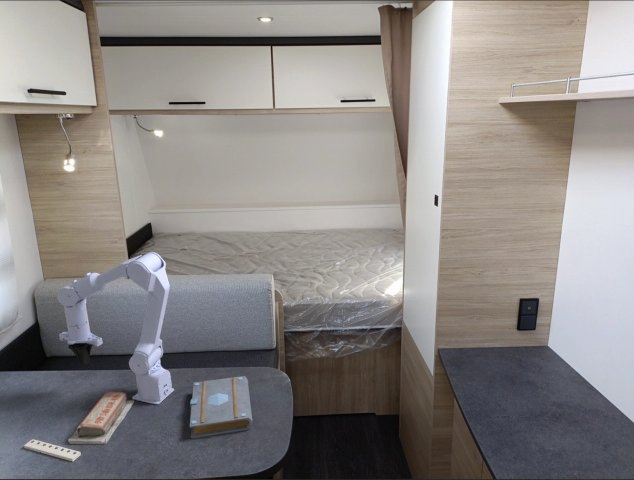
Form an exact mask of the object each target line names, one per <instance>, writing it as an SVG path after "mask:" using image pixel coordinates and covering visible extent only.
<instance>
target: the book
mask: <svg viewBox="0 0 634 480" xmlns="http://www.w3.org/2000/svg"><path fill="white" fill-rule="evenodd" d="M250 397H251V396H250V388H249V380H248V378H247V377H246V376H245V375H242V376H234V377H233V376H232V377H226V378H220V379H217V378H216V379H210V380H204V381H195V382H193V389H192V398H191V399H189V401H190V402H189V406H190V419H189V421H190V422H189V428H190V429H191V433H190V439H197V438H202V437H203V438H204V437H205V438H206V437H210V436H216V435H217V436H218V435H223V434H224V435H225V434H230V433H235V432H243V431H248V430H249V431H250V430H251V428H252V426H253V424H254V423H253V415H252V407H251V406H252V405H251V398H250Z"/></svg>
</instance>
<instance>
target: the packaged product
mask: <svg viewBox="0 0 634 480" xmlns="http://www.w3.org/2000/svg"><path fill="white" fill-rule="evenodd" d="M127 399H128V398H127V393H125V392H124V391H106V392H105V393H104V394H103V395H102V396H101V397H100V399H99V400H98V401H97V403H96V404H95V405H94V406H93V408H91V410H90V411H89V413H88V414H87V415H86V416H85V418H83V420H82V421H81V422H80V423H79V424H78V426H77V428H76V430H75V431H74V432H73V434H72V435H71V436H70V438H68V443H69V444H70V445H106V444H107V443H108V442H109V440H110V439H111V437H112V436H113V434H114V432H115V431H116V430H117V428H118V427H119V426H120V424H121V423H122V421H123V420H124V419H125V417H126V415H127V414H128V413H129V411H130V410H131V408H132V407H133V405H134V404H135V400H134V399H132V400H127Z"/></svg>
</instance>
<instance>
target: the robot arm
mask: <svg viewBox="0 0 634 480" xmlns="http://www.w3.org/2000/svg"><path fill="white" fill-rule="evenodd" d="M166 267H167V264H166V261H165V260H164V259H163V257H162V256H161V255H160V254H158V253H157V252H154V251H150V252H146V253H145V254H144V255H143V254H141V255H138V256H135V257H132V258H130V259H127V260H124V261H123V262H121V263H118V265H115V266H113V267H112V268H110V269H108V270H106V271H104V272H103V273H99V272H92V273H91V272H88V273H85V274H84V275H83V277H82V278H79V279H75V280H72V281H71V283H70V284H68V285H66V286H64V287H61V289H59V290H58V292H57V293H56V297H57V301H58V302H59V304H61V306H63V310H64V317H65V320H66V327H67V331H63V332H61V333H59V334H58V336H59V340H60V341H67V345H68V349H69V350H71V352H72V353H73V354H74V355H75V357H76V359H77V360H78V362H79V365H80V366H86V365H88V363H90V356H91V351H92V349H93V346H95V347H100V346H101V345H102V344H103V343H104V342H103V338H102V337H99V336H97V335H96V334H94V333H92V332H91V329H90V328H91V327H90V322H89V316H88V310H87V298H90V297H92V296H94V295H96V294H98V293H100V292H103V291H104V290H105V288H106V286H107V284H109V283H111V282H113V281H115V280H118V279H119V278H122V277H124V278H125V279H126V280H129V279H130V280H131V281H132V282H134V284H136V285H137V286H139V287H140V288H142V289H143V290H145V291H146V292H148V296H147V301H146V302H147V303H146V308H145V311H144V317H143V323H142V326H141V327H142V328H141V334H140V338H139V342H138V343H137V346H135V349H134V352H133V354H132V356H131V357H130V358H129V361H128V366H129V368H130V370H131V371H132V372H133V373H134V375H135V378H136V387H137V393H136V394H135V395H133V396H132V398H131V399H132V400H134V401H135V400H136V401H138V402H139V401H140V402H144V403H147V404H152V405H153V404H154V405H159V404H161V403H162V401H164V400H165V399H167V398H168V396H170V395H171V394H172V393H173V392H174V391H175V388H173V385H172V376H171V372H170V371H169V370H167V369H165V368H164V367H163V366H162V365H161V358H162V357H163V356H164V355H163V354H164V348H163V340H162V339H161V333H162V327H163V323H164V318H165V315H166V314H165V313H166V308H167V303H168V299H169V294H170V289H171V288H170V287H171V285H170V282H169V279H168V276H167V271H166Z"/></svg>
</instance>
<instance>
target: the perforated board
mask: <svg viewBox="0 0 634 480" xmlns="http://www.w3.org/2000/svg"><path fill="white" fill-rule="evenodd" d="M23 447H24V449H26V450H29V451H33V452H37V453H40V452H41V454H44V455H48V456H51V457H54V458H59V459H62V460H66V461H69V462H74V461H75V460H77V458H79V457H80V456H81V455H82V454H81V451H78V450H74V449H70V448H67V447H64V446H60V445H56V444H51V443H49V442H44V441H41V440H37V439H31V440H29V441H28V442H26V444H24V445H23Z"/></svg>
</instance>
